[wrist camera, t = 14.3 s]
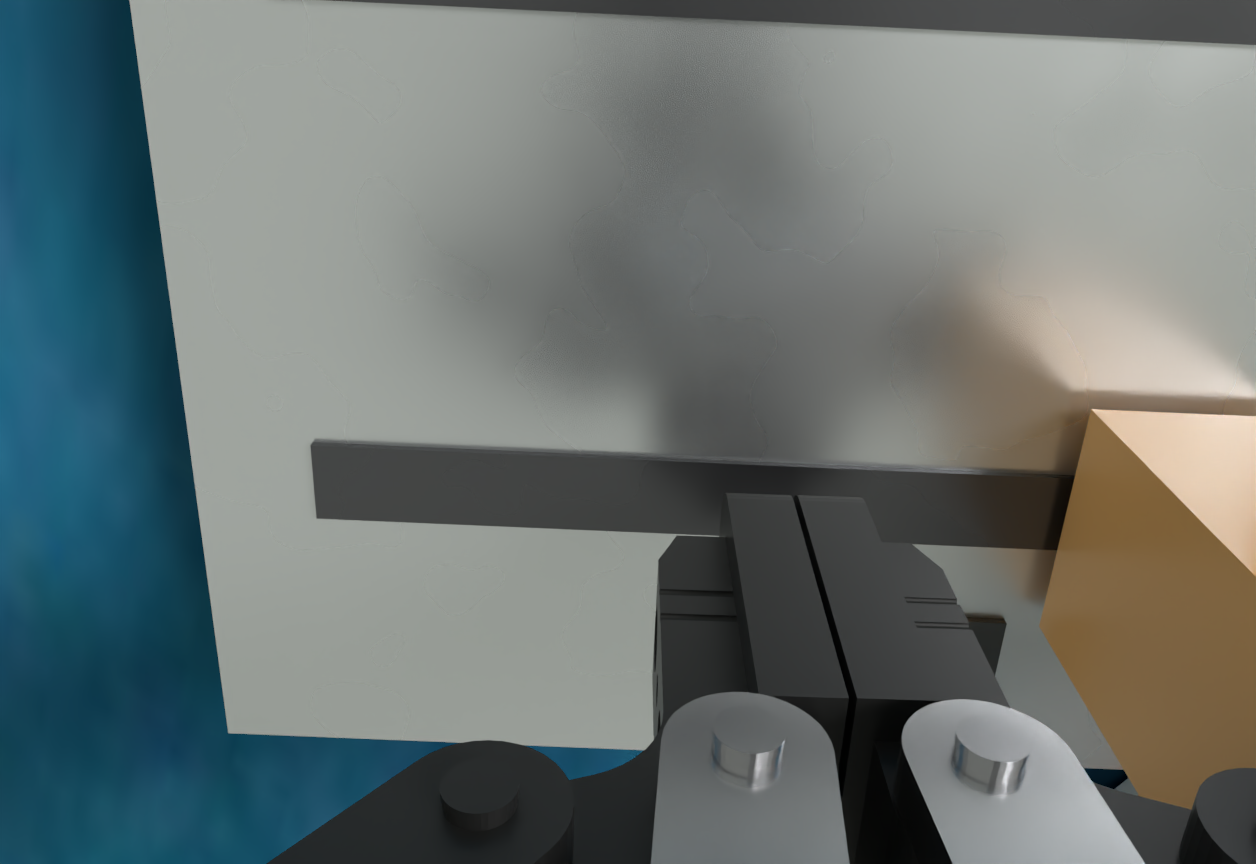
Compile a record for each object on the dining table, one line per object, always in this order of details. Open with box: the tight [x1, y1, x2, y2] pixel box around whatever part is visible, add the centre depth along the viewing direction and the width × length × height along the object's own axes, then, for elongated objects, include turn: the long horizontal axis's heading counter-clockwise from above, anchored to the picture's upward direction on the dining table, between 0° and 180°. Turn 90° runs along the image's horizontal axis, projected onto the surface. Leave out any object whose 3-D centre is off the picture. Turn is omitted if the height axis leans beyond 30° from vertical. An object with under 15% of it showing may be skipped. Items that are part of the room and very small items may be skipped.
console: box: [129, 0, 1256, 770], centre depth 13 cm, size 14×24×3 cm, turn 87°
